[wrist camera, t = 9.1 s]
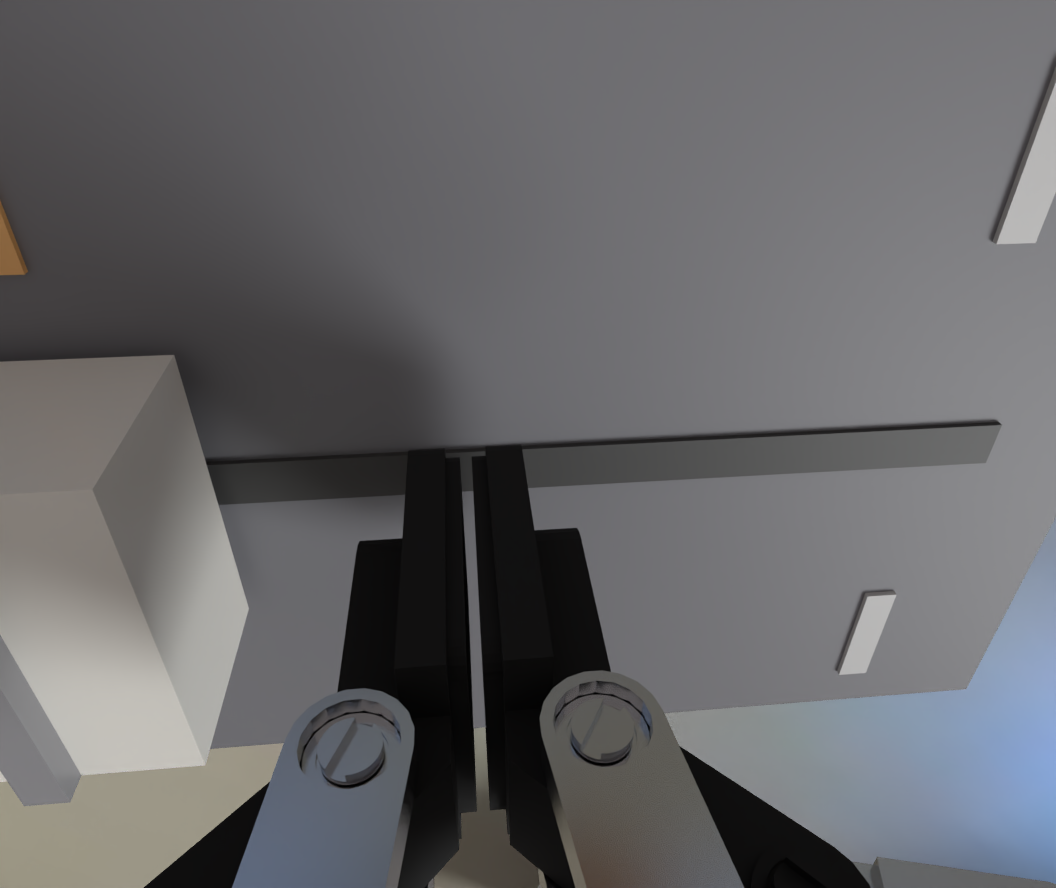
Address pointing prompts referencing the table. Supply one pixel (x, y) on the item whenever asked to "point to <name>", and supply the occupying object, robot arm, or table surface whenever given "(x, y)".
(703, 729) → the table surface
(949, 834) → the table surface
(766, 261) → the console
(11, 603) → the fader
